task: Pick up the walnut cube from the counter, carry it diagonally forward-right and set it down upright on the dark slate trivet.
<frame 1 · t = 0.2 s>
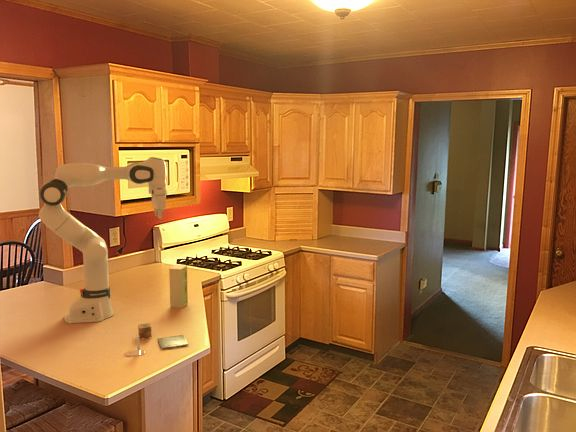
hand: (158, 217, 248), 48 cm above the kitchen counter, fingers open, 8 cm apart
cube: (145, 336, 218), on the kitchen counter
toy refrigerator: (179, 306, 259), on the kitchen counter
trivet: (172, 342, 211), on the kitchen counter
unidentifiable: (134, 354, 200), on the kitchen counter
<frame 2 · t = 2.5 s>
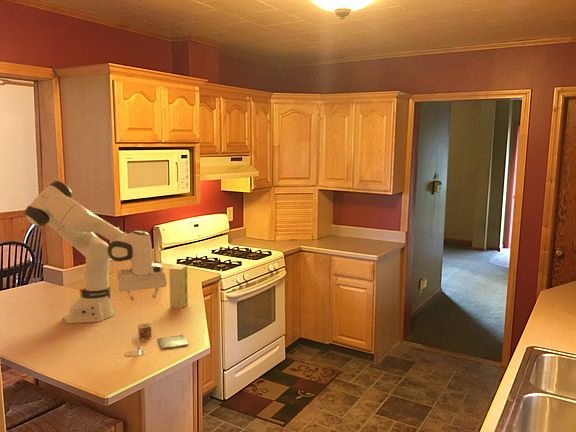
hand: (143, 298, 215), 17 cm above the kitchen counter, fingers open, 8 cm apart
nothing on the kitchen counter moved.
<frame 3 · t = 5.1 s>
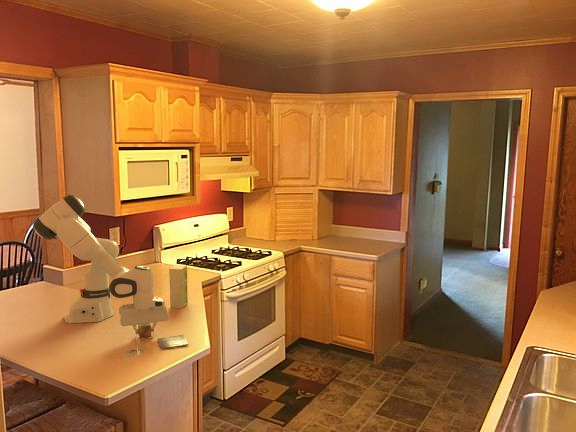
hand: (144, 332, 217), 2 cm above the kitchen counter, fingers closed on cube, 5 cm apart
cube: (145, 336, 218), on the kitchen counter, touching gripper
everything else where it was.
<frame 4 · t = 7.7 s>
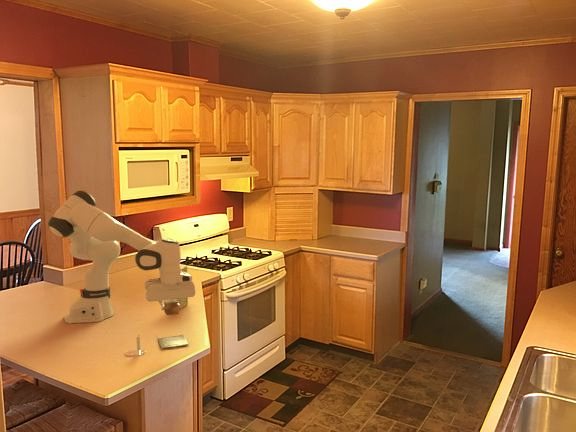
hand: (171, 308, 208), 15 cm above the kitchen counter, fingers closed on cube, 5 cm apart
cube: (171, 312, 208), point 14 cm above the kitchen counter, touching gripper
everything else where it was.
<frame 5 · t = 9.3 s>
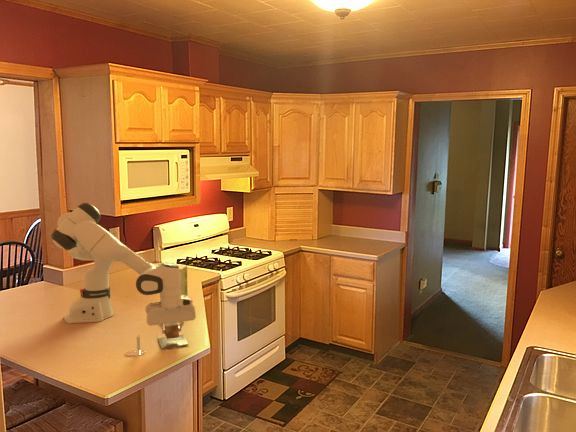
hand: (171, 332, 210), 5 cm above the kitchen counter, fingers closed on cube, 5 cm apart
cube: (171, 336, 210), point 3 cm above the kitchen counter, touching gripper
everything else where it was.
when the fingers open (3 cm above the kitchen counter, at t = 10.5 s): cube stays where it is, resting on trivet.
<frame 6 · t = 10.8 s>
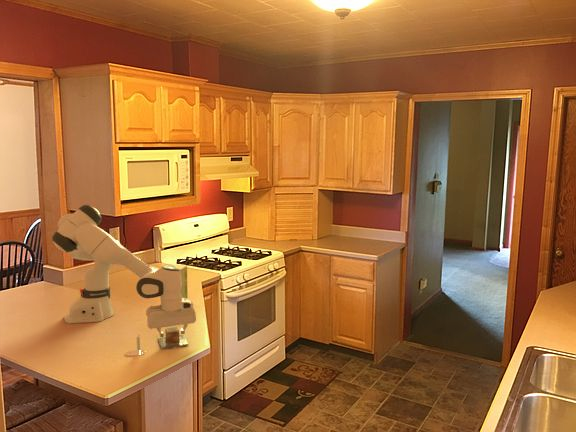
hand: (172, 335, 210), 3 cm above the kitchen counter, fingers open, 8 cm apart
cube: (172, 340, 210), point 1 cm above the kitchen counter, touching trivet
everything else where it was.
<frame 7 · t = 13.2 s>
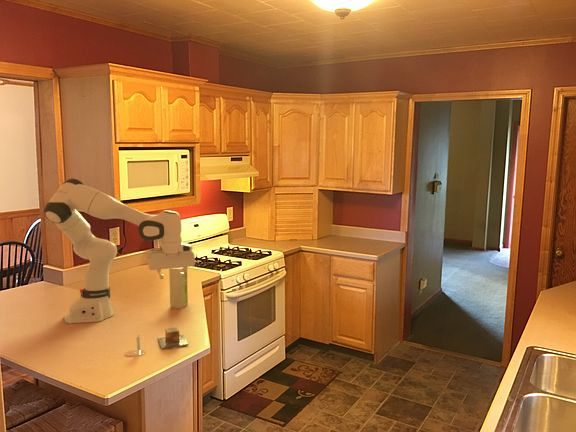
hand: (172, 277, 219), 25 cm above the kitchen counter, fingers open, 8 cm apart
nothing on the kitchen counter moved.
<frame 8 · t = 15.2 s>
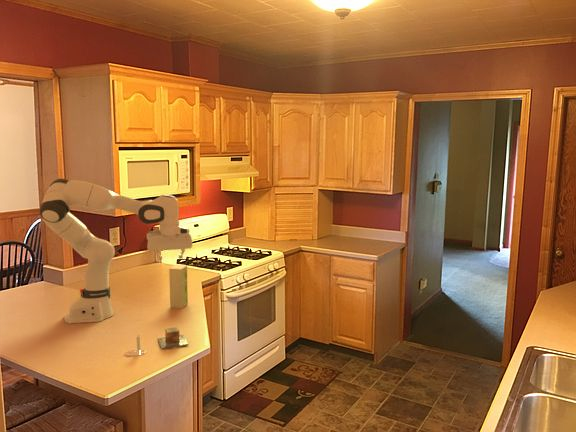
hand: (170, 259, 229), 31 cm above the kitchen counter, fingers open, 8 cm apart
nothing on the kitchen counter moved.
at the end: cube inside the target area on the trivet (0.0 cm from its centre), point 0.9 cm above the trivet's base; cube tilted 0°; the gripper is holding nothing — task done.
